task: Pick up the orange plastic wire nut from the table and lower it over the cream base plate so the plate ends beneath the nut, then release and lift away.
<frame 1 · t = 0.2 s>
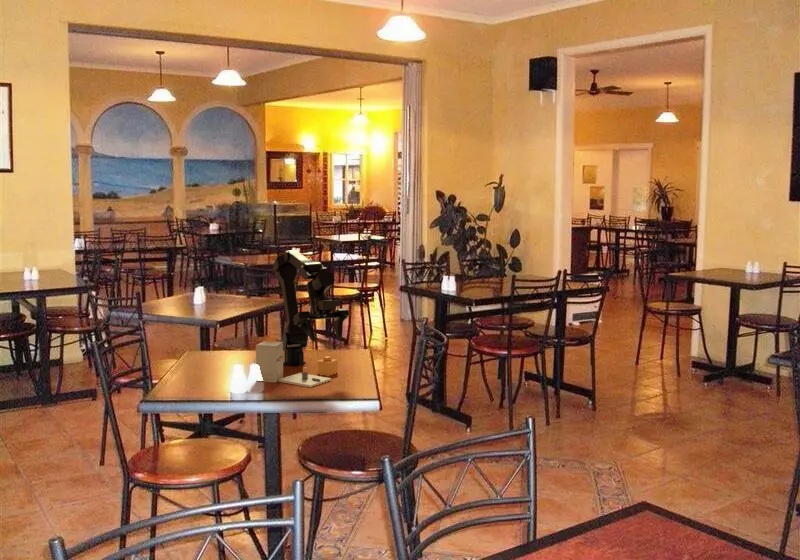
hand: (326, 340, 276), 14 cm above the table, tool tilted 30°, fingers open, 9 cm apart
supplement box: (270, 380, 281), on the table
cream base plate: (304, 381, 279), on the table
orange wire nut: (327, 374, 289), on the table
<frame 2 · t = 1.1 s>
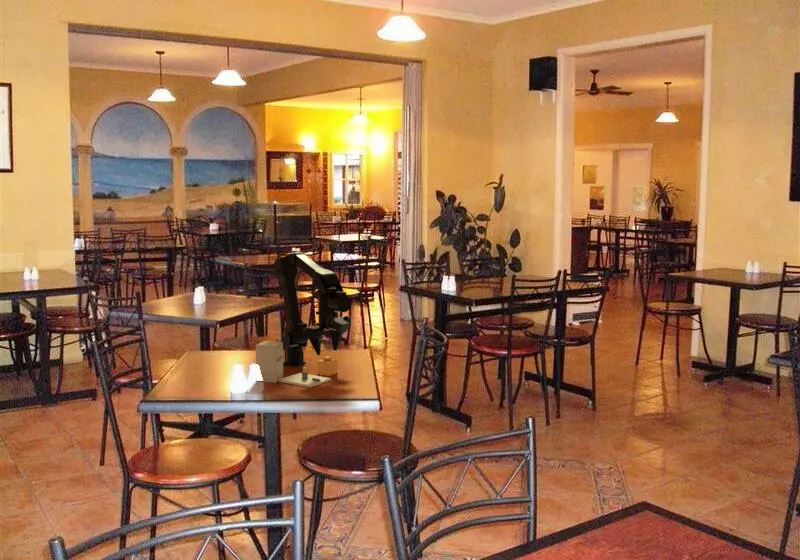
hand: (327, 352, 288), 8 cm above the table, tool pointing down, fingers open, 9 cm apart
nothing on the table moved.
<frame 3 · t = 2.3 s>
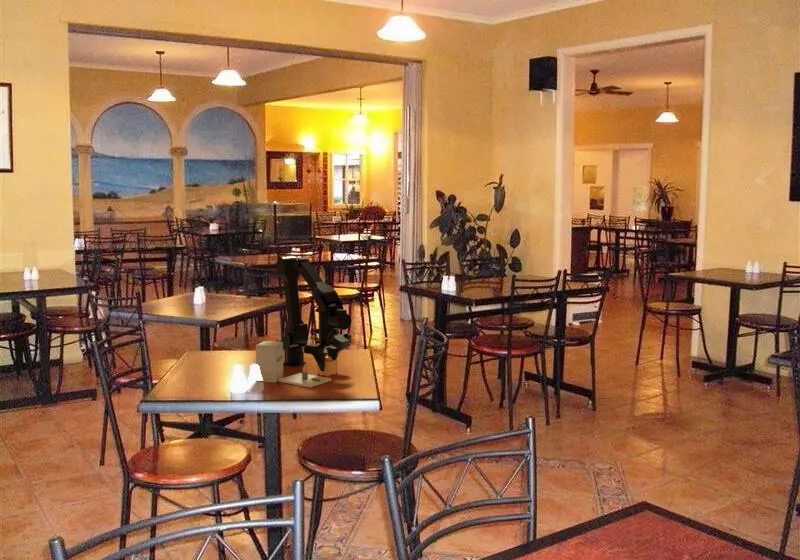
hand: (327, 369, 288), 2 cm above the table, tool pointing down, fingers closed on orange wire nut, 5 cm apart
orange wire nut: (327, 374, 289), on the table, touching gripper
everything else where it was.
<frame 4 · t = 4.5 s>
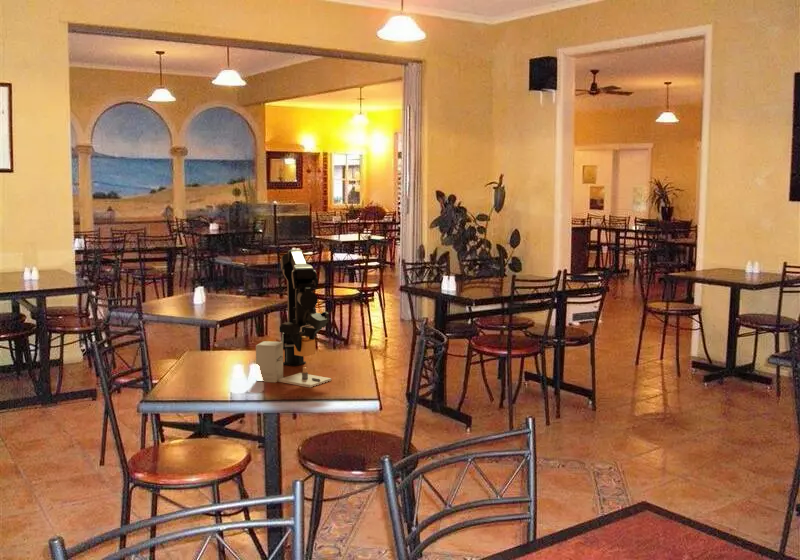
hand: (304, 350, 278), 11 cm above the table, tool pointing down, fingers closed on orange wire nut, 5 cm apart
orange wire nut: (304, 354, 278), point 9 cm above the table, touching gripper
everything else where it was.
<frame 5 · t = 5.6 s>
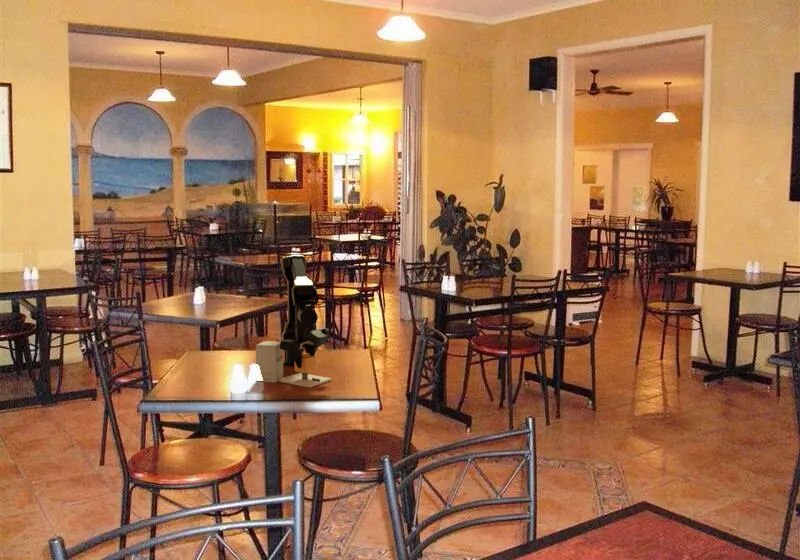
hand: (304, 366, 278), 5 cm above the table, tool pointing down, fingers closed on orange wire nut, 5 cm apart
orange wire nut: (305, 370, 278), point 4 cm above the table, touching gripper
everything else where it was.
when the fingers open (4 cm above the table, at t = 6.6 s): orange wire nut drops 2 cm, resting on cream base plate.
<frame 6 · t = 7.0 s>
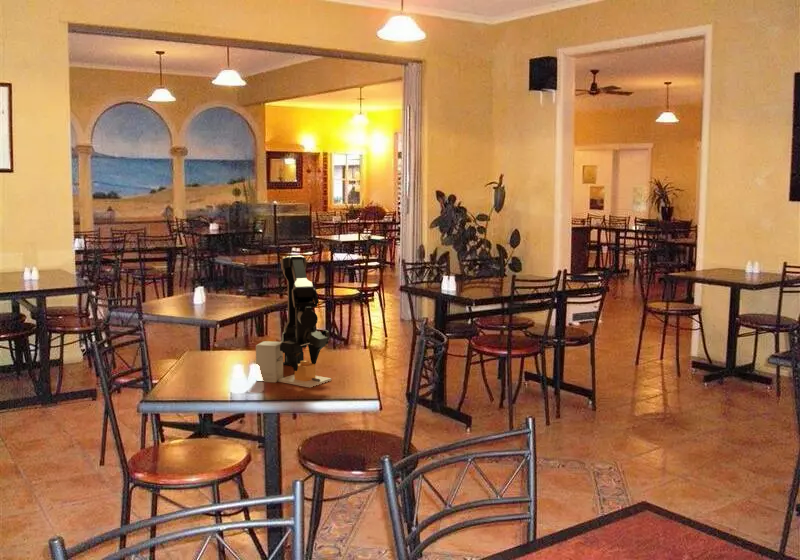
hand: (304, 368, 278), 4 cm above the table, tool pointing down, fingers open, 9 cm apart
orange wire nut: (305, 378, 279), point 1 cm above the table, touching cream base plate
everything else where it was.
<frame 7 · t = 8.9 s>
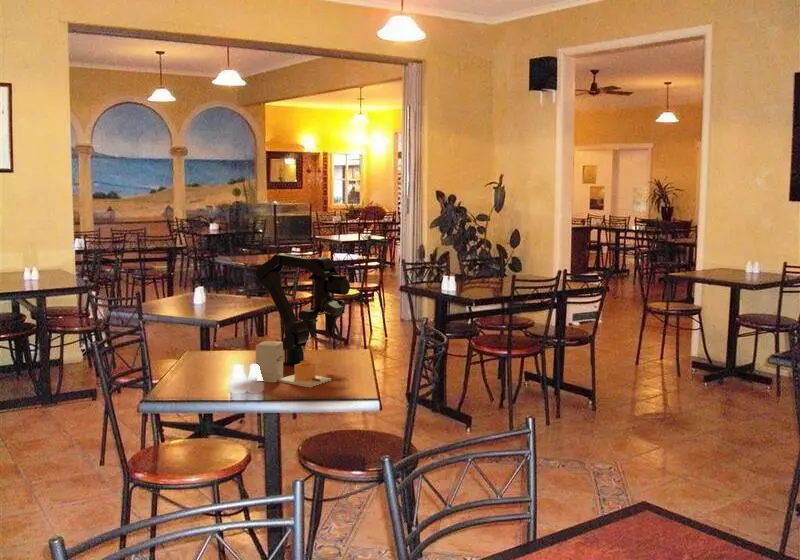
hand: (321, 335, 296), 12 cm above the table, tool pointing down, fingers open, 9 cm apart
nothing on the table moved.
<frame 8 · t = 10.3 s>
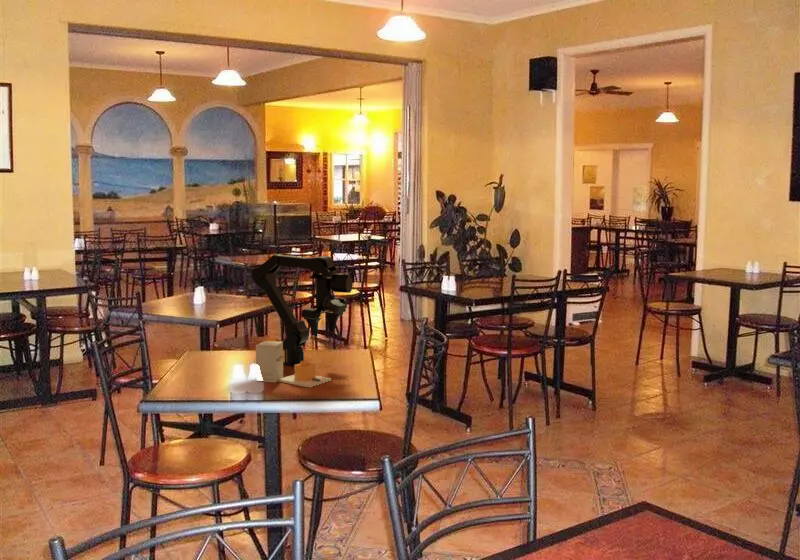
hand: (324, 334, 298), 12 cm above the table, tool pointing down, fingers open, 9 cm apart
nothing on the table moved.
at the end: orange wire nut 0.1 cm from the target spot, point 0.8 cm above the table; orange wire nut tilted 0° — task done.
